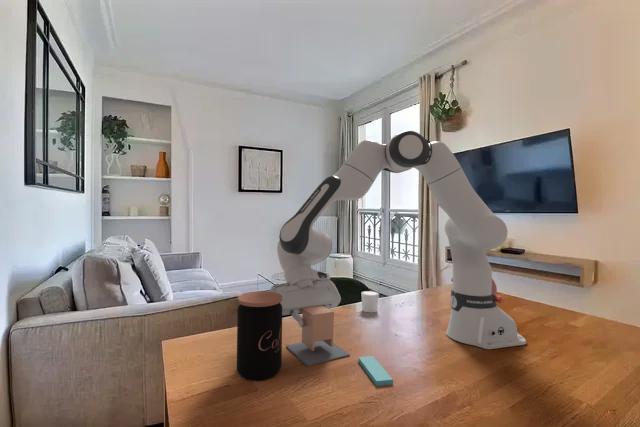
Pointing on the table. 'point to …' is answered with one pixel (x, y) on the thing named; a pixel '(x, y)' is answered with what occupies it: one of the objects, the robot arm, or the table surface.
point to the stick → (375, 371)
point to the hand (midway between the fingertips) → (316, 323)
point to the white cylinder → (369, 301)
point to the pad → (317, 352)
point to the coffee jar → (259, 335)
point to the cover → (317, 326)
